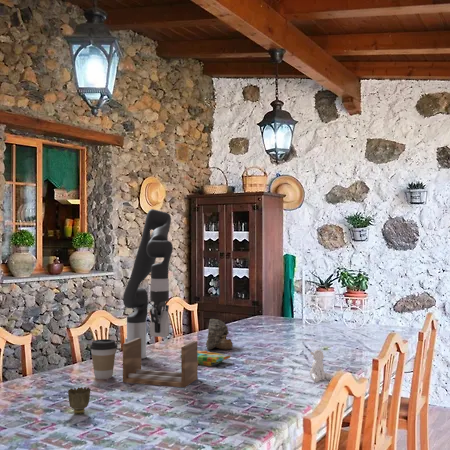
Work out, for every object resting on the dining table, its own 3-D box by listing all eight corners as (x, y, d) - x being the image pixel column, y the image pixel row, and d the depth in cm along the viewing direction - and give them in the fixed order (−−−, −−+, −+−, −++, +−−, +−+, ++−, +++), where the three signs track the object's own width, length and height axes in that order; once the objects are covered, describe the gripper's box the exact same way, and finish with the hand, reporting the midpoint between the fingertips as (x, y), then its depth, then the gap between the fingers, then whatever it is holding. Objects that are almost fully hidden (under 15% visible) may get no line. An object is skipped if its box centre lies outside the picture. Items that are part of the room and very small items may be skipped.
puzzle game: (195, 348, 293) (230, 353, 282) (195, 358, 293) (230, 363, 282) (180, 352, 283) (216, 357, 272) (180, 362, 283) (216, 368, 272)
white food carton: (165, 337, 245) (165, 312, 245) (150, 336, 247) (150, 311, 247) (169, 335, 249) (169, 310, 249) (154, 334, 251) (154, 310, 251)
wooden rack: (122, 382, 246) (122, 343, 246) (138, 374, 260) (138, 337, 260) (184, 387, 238) (184, 347, 238) (197, 378, 251) (197, 341, 251)
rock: (201, 314, 320) (228, 310, 317) (209, 331, 329) (236, 327, 326) (198, 342, 306) (227, 338, 303) (207, 359, 315) (235, 355, 312)
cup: (69, 410, 208) (69, 386, 208) (91, 409, 209) (91, 386, 209) (66, 416, 201) (66, 392, 201) (88, 416, 201) (88, 392, 201)
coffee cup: (122, 375, 258) (122, 339, 258) (108, 381, 247) (108, 344, 247) (98, 373, 262) (98, 338, 262) (84, 379, 251) (84, 342, 251)
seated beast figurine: (315, 382, 245) (315, 353, 245) (302, 378, 253) (302, 349, 253) (334, 380, 249) (333, 350, 249) (321, 375, 257) (321, 347, 257)
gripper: (158, 287, 256) (158, 328, 256) (143, 290, 243) (143, 334, 243) (174, 288, 254) (174, 329, 254) (161, 291, 240) (161, 335, 240)
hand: (159, 331), depth 248 cm, fingers closed on white food carton, 3 cm apart
